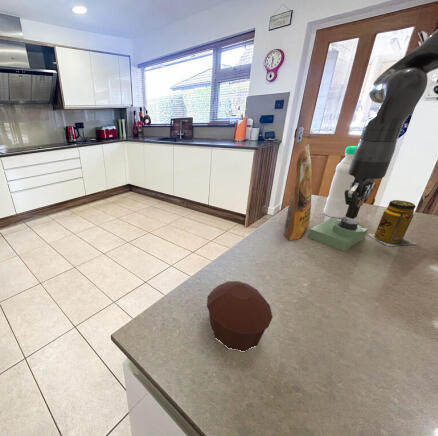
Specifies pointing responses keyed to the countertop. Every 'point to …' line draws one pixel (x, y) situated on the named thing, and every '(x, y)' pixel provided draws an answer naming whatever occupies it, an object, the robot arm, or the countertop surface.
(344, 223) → the pump top
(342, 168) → the water bottle
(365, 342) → the countertop surface
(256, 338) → the muffin
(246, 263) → the countertop surface
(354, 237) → the dispenser base
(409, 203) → the condiment
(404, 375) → the countertop surface
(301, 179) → the pancake mix bag
